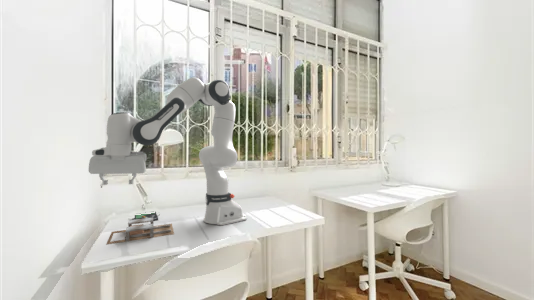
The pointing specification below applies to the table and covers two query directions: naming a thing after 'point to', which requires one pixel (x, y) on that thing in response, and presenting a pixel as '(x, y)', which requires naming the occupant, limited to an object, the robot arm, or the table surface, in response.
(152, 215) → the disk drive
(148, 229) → the brown wooden flat frame
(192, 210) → the table surface
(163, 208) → the table surface
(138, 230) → the block
